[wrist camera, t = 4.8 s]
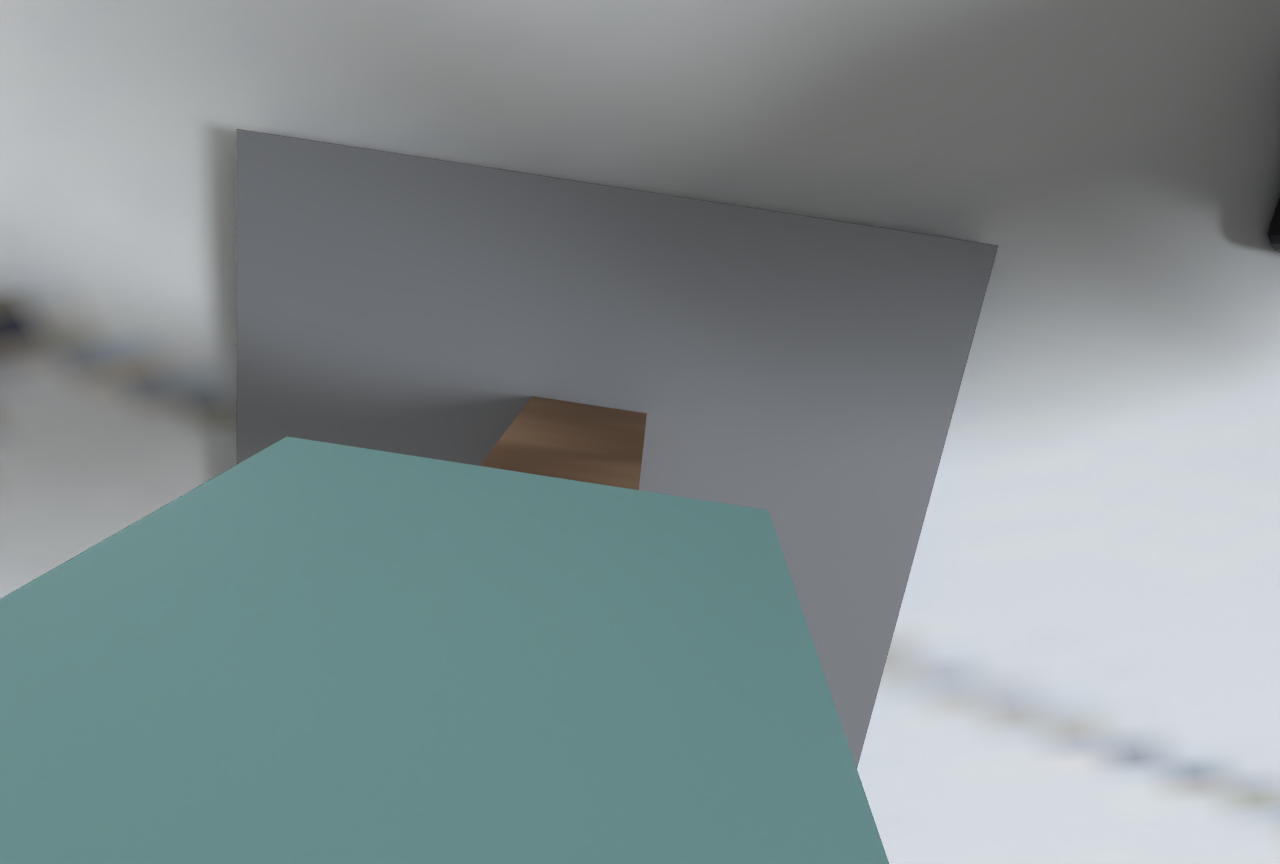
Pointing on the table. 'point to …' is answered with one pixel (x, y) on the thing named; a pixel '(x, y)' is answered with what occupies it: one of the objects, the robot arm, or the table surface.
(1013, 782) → the table surface
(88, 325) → the table surface
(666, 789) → the teal rimmed cube
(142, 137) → the table surface
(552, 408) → the walnut post
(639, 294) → the slate board
